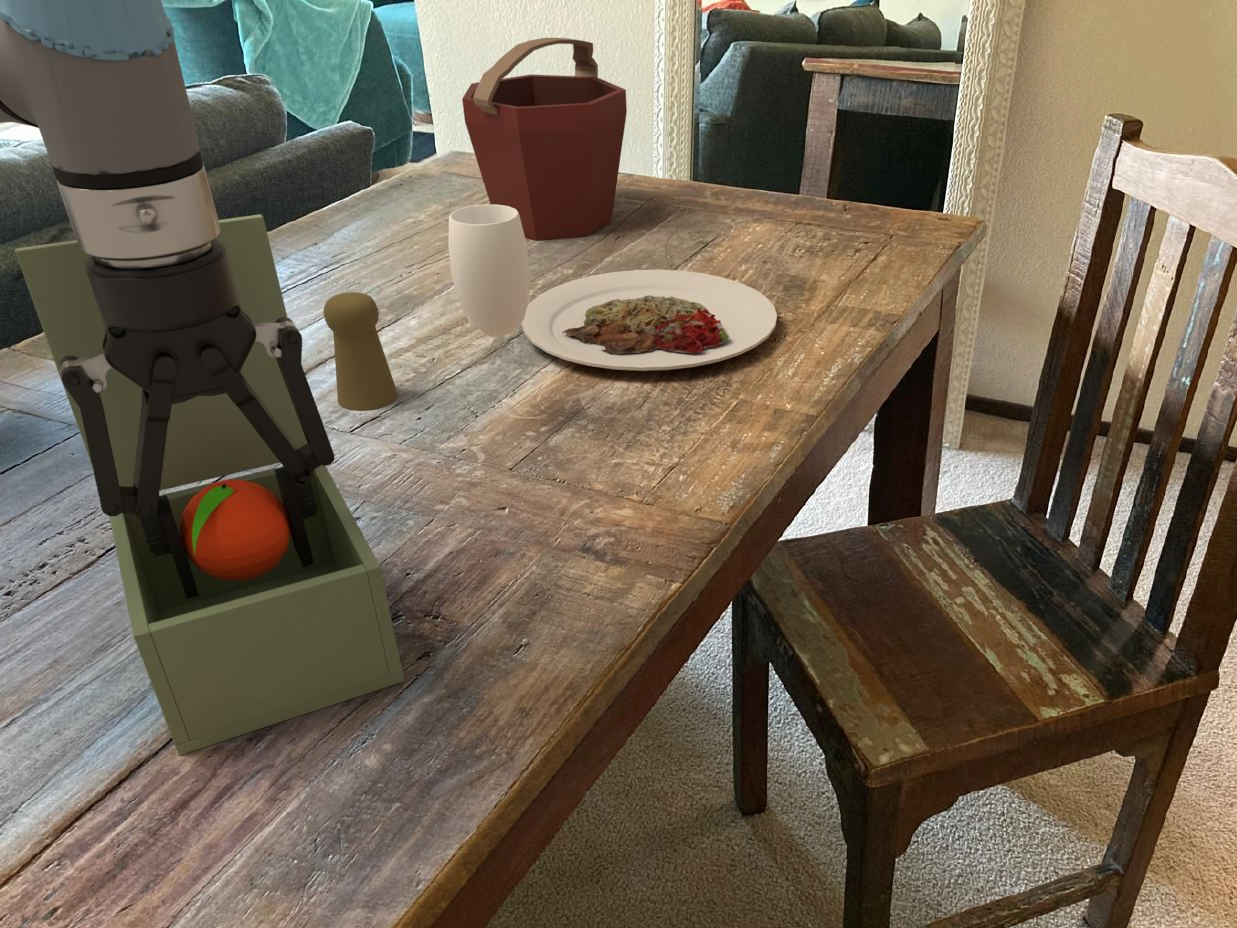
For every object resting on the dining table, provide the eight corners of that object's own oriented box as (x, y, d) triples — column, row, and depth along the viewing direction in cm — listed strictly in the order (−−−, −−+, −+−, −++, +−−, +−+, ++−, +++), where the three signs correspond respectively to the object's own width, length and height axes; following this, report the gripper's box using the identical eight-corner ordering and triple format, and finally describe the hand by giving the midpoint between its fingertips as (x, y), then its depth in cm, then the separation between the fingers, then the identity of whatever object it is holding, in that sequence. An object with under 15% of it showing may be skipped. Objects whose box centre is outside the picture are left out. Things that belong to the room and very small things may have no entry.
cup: (545, 433, 108) (524, 225, 96) (470, 439, 107) (440, 228, 95) (544, 401, 114) (524, 201, 102) (473, 406, 113) (445, 204, 101)
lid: (263, 216, 74) (260, 214, 75) (14, 251, 68) (14, 248, 69) (320, 453, 83) (318, 449, 84) (105, 503, 77) (104, 499, 77)
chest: (404, 681, 77) (380, 566, 72) (178, 755, 71) (133, 636, 65) (345, 563, 89) (320, 457, 84) (147, 618, 83) (107, 507, 77)
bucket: (580, 191, 177) (568, 21, 163) (667, 223, 163) (662, 41, 150) (446, 222, 163) (421, 40, 149) (530, 259, 150) (510, 63, 136)
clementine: (260, 616, 72) (234, 525, 68) (165, 604, 73) (133, 515, 69) (318, 549, 79) (297, 463, 75) (229, 539, 80) (204, 454, 76)
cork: (375, 414, 111) (354, 311, 105) (325, 404, 113) (302, 303, 107) (409, 389, 116) (391, 290, 110) (361, 381, 118) (341, 282, 111)
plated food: (570, 275, 145) (568, 250, 143) (794, 294, 140) (795, 268, 138) (482, 369, 120) (479, 340, 118) (750, 395, 115) (750, 366, 113)
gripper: (-46, 298, 56) (95, 645, 69) (343, 239, 65) (404, 558, 78) (-45, 255, 62) (86, 584, 75) (314, 205, 70) (376, 509, 83)
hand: (248, 570), depth 76 cm, fingers closed on clementine, 7 cm apart
